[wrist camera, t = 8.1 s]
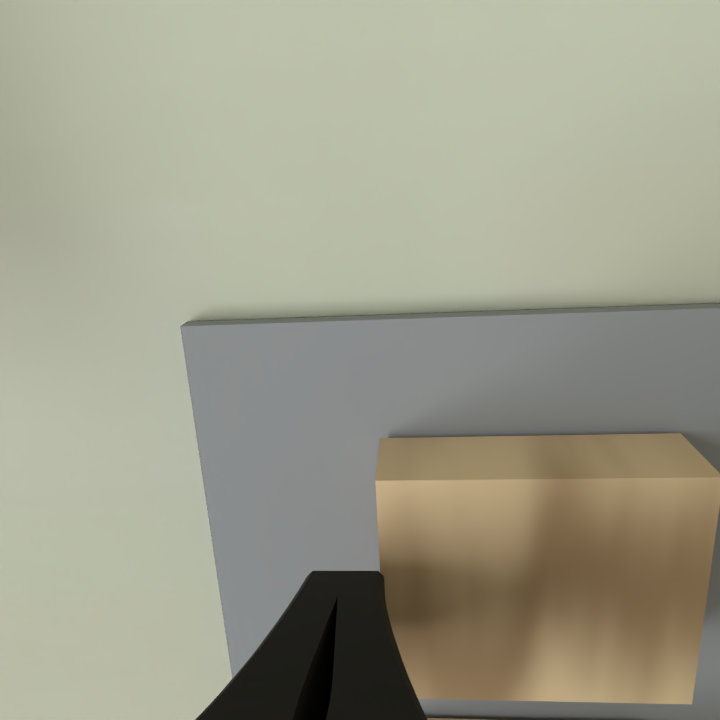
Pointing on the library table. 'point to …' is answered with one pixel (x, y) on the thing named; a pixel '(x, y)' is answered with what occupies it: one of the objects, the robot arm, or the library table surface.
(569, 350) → the felt mat
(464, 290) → the library table surface
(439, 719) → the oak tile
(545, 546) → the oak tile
